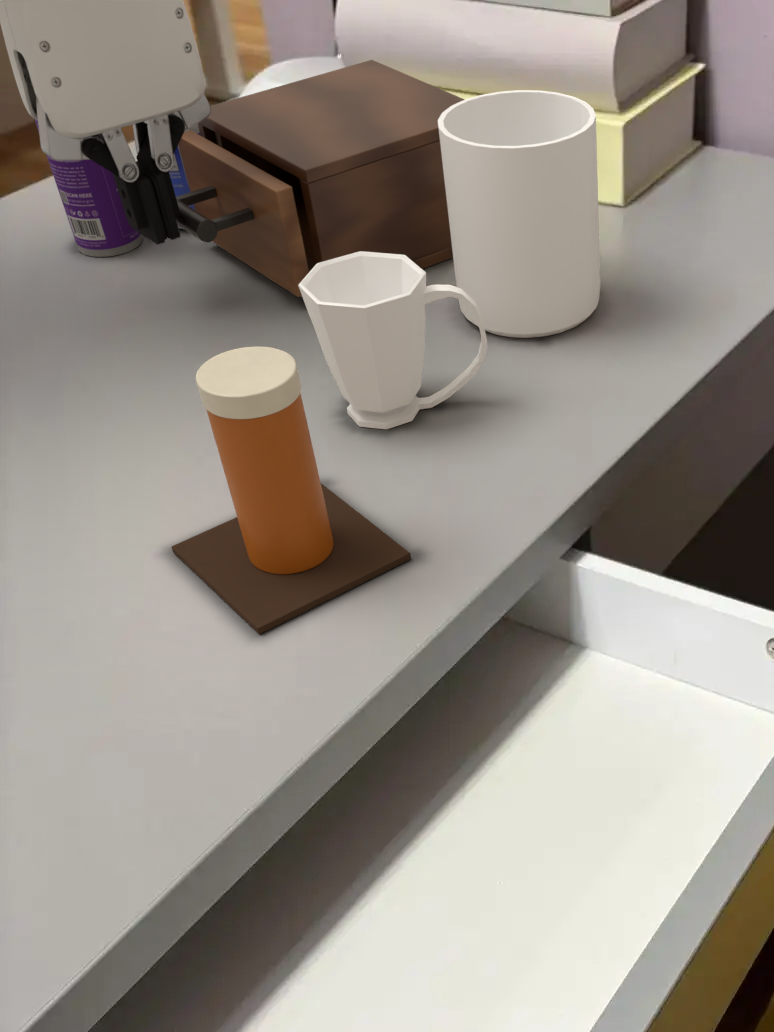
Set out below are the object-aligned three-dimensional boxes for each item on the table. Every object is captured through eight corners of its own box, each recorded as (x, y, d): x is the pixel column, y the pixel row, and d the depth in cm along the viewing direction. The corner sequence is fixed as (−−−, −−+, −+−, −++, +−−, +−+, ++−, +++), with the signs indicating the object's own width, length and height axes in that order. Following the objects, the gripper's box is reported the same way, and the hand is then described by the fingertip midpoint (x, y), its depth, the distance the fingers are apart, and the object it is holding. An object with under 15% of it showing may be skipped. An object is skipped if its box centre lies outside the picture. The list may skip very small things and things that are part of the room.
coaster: (259, 634, 60) (257, 628, 60) (172, 552, 65) (170, 546, 65) (411, 559, 64) (410, 552, 64) (319, 486, 69) (318, 480, 69)
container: (152, 245, 91) (84, 10, 80) (90, 263, 89) (11, 25, 78) (130, 224, 93) (60, -7, 82) (69, 240, 92) (-10, 8, 81)
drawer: (242, 318, 81) (215, 211, 76) (148, 252, 88) (118, 150, 83) (461, 236, 88) (451, 134, 83) (358, 182, 95) (342, 85, 90)
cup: (325, 386, 76) (298, 255, 70) (486, 369, 77) (473, 239, 71) (326, 447, 72) (297, 313, 66) (498, 429, 73) (485, 294, 67)
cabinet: (331, 304, 84) (305, 170, 77) (224, 236, 91) (193, 110, 85) (502, 239, 90) (491, 110, 84) (389, 181, 98) (372, 59, 91)
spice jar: (275, 588, 62) (226, 407, 55) (230, 547, 65) (177, 368, 57) (352, 550, 64) (315, 371, 57) (306, 512, 67) (264, 335, 59)
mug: (453, 344, 80) (430, 150, 71) (466, 261, 88) (446, 78, 79) (601, 339, 79) (596, 145, 71) (600, 257, 88) (595, 73, 79)
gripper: (155, -141, 72) (232, 185, 86) (-101, -93, 66) (26, 251, 80) (217, -121, 69) (288, 218, 82) (-49, -67, 62) (75, 291, 76)
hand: (158, 234), depth 81 cm, fingers closed
